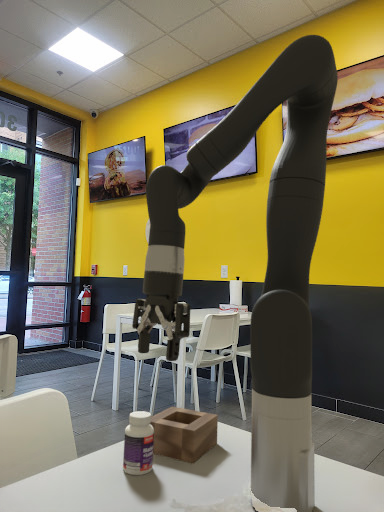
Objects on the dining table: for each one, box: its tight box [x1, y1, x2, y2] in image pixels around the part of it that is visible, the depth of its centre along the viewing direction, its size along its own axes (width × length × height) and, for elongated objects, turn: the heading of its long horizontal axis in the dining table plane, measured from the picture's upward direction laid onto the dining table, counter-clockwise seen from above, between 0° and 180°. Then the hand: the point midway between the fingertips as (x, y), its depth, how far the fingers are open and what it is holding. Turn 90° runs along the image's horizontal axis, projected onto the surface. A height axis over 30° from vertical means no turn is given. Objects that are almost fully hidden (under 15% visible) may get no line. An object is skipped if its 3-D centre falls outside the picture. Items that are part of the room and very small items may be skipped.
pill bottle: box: [122, 410, 154, 476], centre depth 69 cm, size 5×5×10 cm
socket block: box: [150, 406, 219, 464], centre depth 79 cm, size 12×12×6 cm
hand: (156, 356), depth 70 cm, fingers open, 8 cm apart
